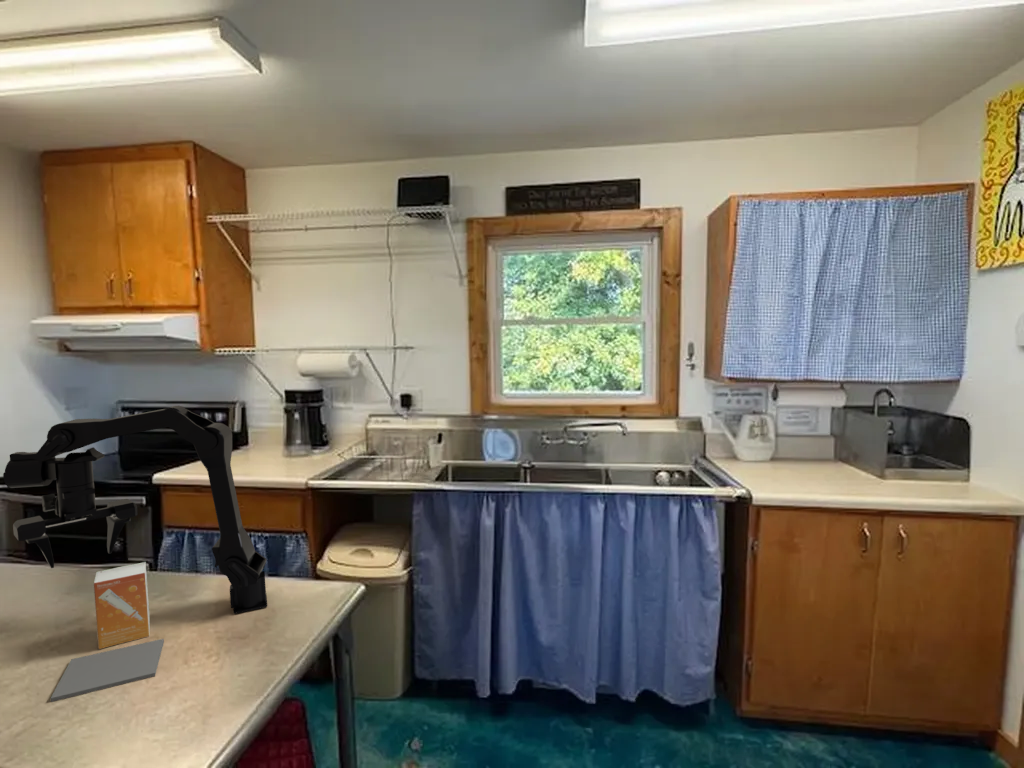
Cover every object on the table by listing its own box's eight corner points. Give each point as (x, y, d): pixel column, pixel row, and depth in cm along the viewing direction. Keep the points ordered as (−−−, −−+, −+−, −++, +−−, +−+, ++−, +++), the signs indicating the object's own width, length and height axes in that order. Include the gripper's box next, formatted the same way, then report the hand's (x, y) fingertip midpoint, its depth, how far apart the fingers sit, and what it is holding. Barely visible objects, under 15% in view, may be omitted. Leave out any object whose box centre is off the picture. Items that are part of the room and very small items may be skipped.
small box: (98, 650, 101) (92, 583, 100) (101, 635, 106) (95, 571, 105) (150, 636, 105) (145, 571, 104) (150, 622, 110) (145, 560, 109)
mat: (163, 641, 103) (163, 638, 103) (154, 676, 93) (154, 672, 92) (71, 662, 97) (71, 659, 97) (50, 701, 86) (50, 698, 86)
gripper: (120, 468, 119) (125, 537, 121) (5, 487, 105) (12, 564, 107) (135, 476, 112) (141, 549, 114) (14, 497, 98) (22, 580, 99)
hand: (81, 560), depth 109 cm, fingers open, 9 cm apart
